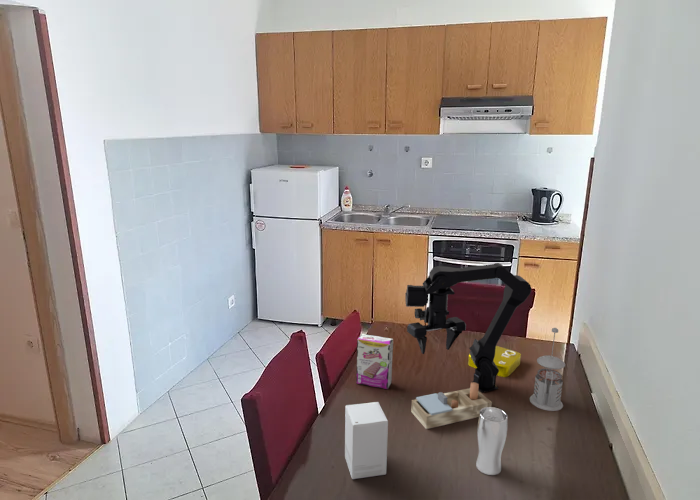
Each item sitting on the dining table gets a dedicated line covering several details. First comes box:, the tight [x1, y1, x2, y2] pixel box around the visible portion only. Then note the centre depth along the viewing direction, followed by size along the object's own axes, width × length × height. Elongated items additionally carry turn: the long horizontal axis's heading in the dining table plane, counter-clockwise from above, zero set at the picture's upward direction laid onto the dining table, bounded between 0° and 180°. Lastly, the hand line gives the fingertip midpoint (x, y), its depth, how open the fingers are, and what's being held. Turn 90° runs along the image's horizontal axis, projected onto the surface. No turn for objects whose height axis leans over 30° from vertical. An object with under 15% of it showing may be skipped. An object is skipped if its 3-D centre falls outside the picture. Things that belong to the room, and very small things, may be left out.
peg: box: [469, 381, 479, 400], centre depth 143 cm, size 2×2×7 cm
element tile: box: [467, 345, 522, 378], centre depth 172 cm, size 15×15×5 cm
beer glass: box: [475, 406, 509, 476], centre depth 117 cm, size 7×7×15 cm
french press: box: [529, 327, 566, 412], centre depth 144 cm, size 10×12×25 cm
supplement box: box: [344, 401, 389, 480], centre depth 117 cm, size 9×9×15 cm
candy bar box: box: [355, 333, 394, 390], centre depth 156 cm, size 11×5×16 cm, turn 71°
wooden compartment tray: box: [410, 387, 493, 430], centre depth 141 cm, size 22×9×4 cm, turn 111°
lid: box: [415, 391, 452, 415], centre depth 138 cm, size 7×9×3 cm
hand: (435, 351), depth 154 cm, fingers open, 9 cm apart
